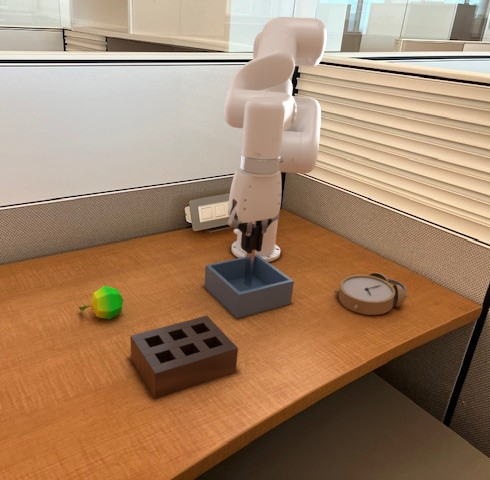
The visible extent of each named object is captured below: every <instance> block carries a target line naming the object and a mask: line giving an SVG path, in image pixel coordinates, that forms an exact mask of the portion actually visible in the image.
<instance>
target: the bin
mask: <svg viewBox="0 0 490 480" xmlns="http://www.w3.org/2000/svg"><path fill="white" fill-rule="evenodd" d="M245 267H246V257H241V258H238V257H236V258H232V259H228V260H223V261H222V260H221V261H218V262H214V263H213V262H212V263H209V264H205V268H204V284H203V285H204V288H205V290H206V291H208V292H209V293H210V294H211V295H212V296H213V297H214V298H215V299H216V300H217V301H218V302H219V303H220V304H221V305H222V306H223V307H224V308H225V309H226V310H227V311H228V312H229V313H230V314H231V315H233V316H234V318H236V319H240V318H244V317H247V316H252V315H254V314H258V313H262V312H265V311H269V310H273V309H277V308H281V307H284V306H288V305H291V303H292V297H293V291H294V285H295V284H294V283H295V281H294V280H293V279H292V278H291V277H289V276H288V275H286V274H285V273H284V272H282V271H281V270H279V268H277V267H276V266H274V265H272V263H270V262H267V261H266V260H264V259H263V258H262V257H260V256H259V255H257V254H255V256H254V266H253V275H252V285H251V287H247V286H246V285H245V284H244V277H245Z"/></svg>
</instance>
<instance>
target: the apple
mask: <svg viewBox="0 0 490 480" xmlns="http://www.w3.org/2000/svg"><path fill="white" fill-rule="evenodd" d="M123 304H124V298H123V296H122V295H121V292H120V291H119V290H118V288H115V287H111V286H107V285H103V286H102V287H100V288H99V289H97V290H96V291H94V292H93V293H92V296H91V301H90V304H89V305H86V304H84V305H83V306H78V309H79V310H80V313H79V315H80V314H82V313H83V312H84V311H85V310H87V308H91V309H92V311H93V313H94V315H95V316H96V318H100V319H105V320H111V319H112V318H113V319H114V317H116V316H117V315H119V314H120V313H121V311H122V308H123Z"/></svg>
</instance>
